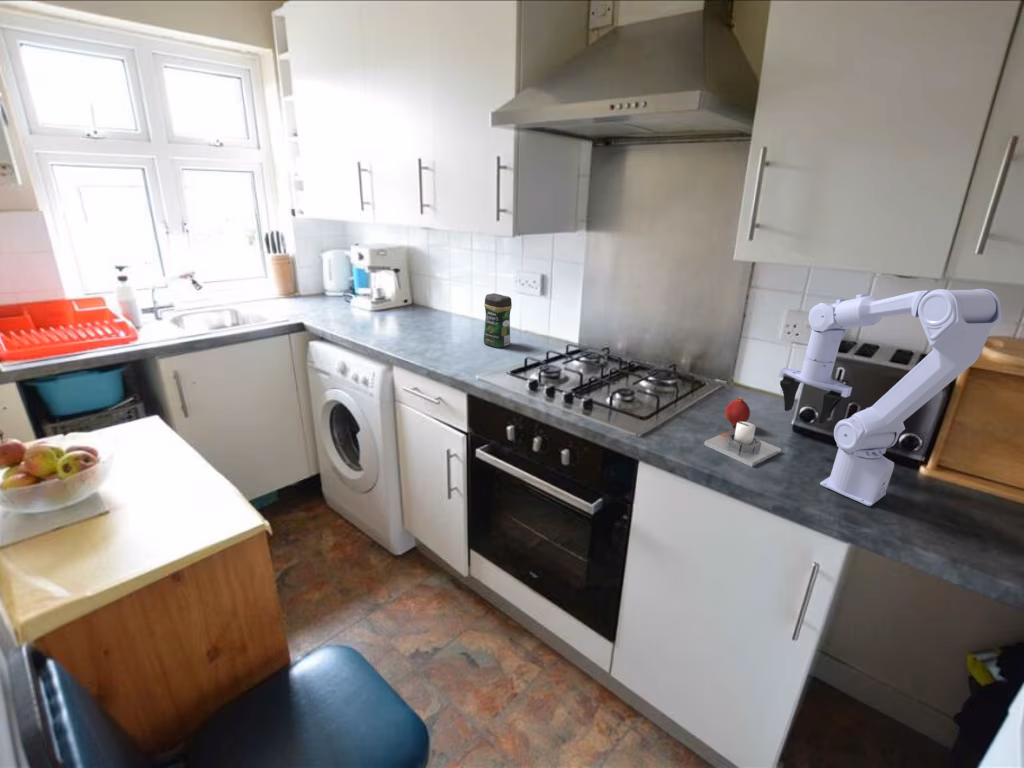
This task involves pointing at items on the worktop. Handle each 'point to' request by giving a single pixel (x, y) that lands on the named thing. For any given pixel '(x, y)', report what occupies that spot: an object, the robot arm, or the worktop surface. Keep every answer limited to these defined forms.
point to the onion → (737, 411)
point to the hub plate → (742, 455)
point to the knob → (744, 433)
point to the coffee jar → (497, 320)
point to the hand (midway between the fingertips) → (804, 415)
